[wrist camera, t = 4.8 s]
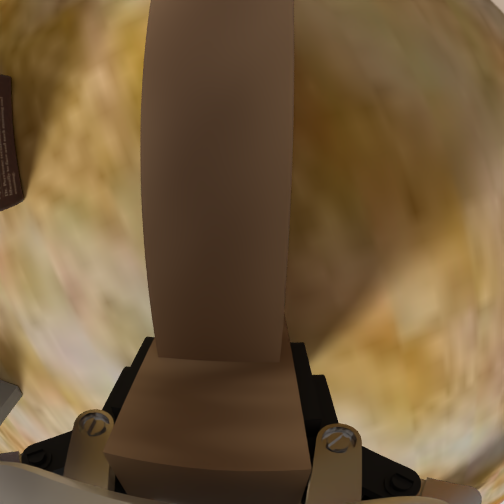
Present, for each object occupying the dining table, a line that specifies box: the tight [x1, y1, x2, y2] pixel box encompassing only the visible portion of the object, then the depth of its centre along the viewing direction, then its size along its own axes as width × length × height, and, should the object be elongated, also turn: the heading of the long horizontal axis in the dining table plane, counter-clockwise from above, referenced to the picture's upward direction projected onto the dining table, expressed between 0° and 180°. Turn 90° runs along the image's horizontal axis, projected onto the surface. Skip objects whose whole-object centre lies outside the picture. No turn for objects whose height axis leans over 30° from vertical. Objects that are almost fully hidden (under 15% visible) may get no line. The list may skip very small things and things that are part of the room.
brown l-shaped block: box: [103, 0, 312, 504], centre depth 7 cm, size 4×15×7 cm, turn 179°
